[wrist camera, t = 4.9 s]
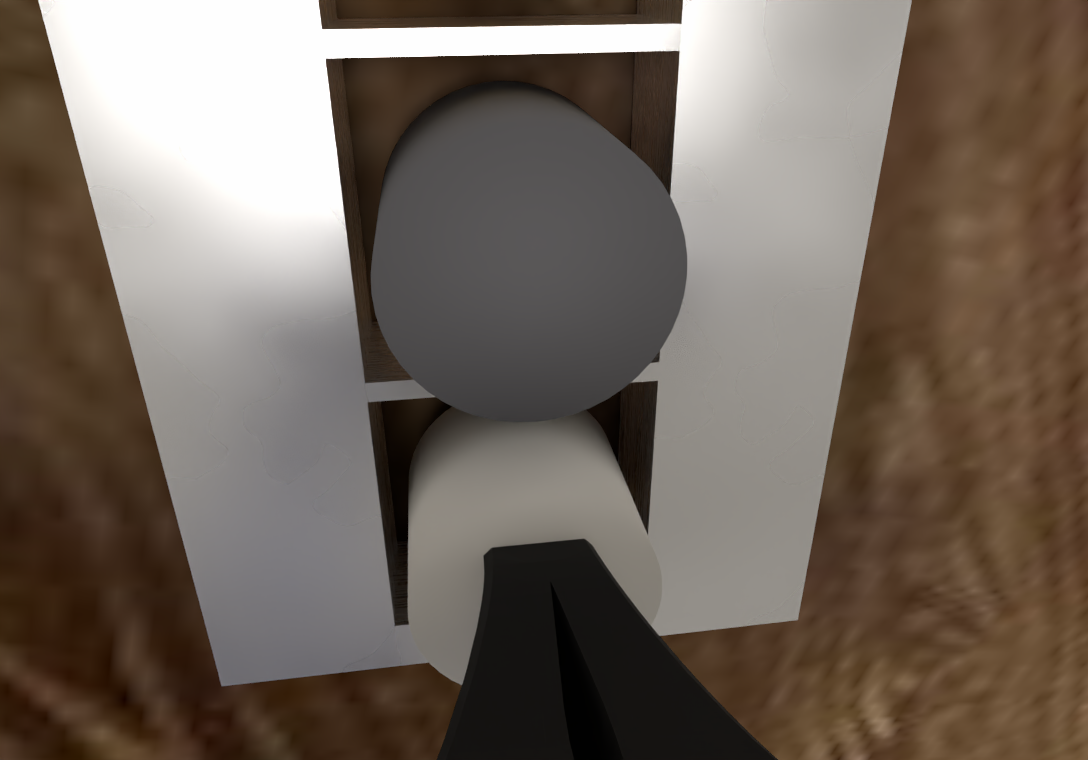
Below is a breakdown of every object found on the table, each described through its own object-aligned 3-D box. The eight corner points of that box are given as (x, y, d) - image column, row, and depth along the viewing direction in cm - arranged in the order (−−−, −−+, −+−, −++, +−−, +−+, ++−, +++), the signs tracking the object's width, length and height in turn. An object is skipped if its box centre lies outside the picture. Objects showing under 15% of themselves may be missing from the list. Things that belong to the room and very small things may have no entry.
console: (752, 542, 16) (797, 619, 14) (246, 594, 15) (221, 686, 13) (893, -460, 10) (1016, -570, 8) (-11, -518, 8) (-141, -666, 6)
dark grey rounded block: (618, 314, 12) (676, 411, 10) (392, 328, 12) (386, 433, 9) (629, 76, 11) (700, 113, 8) (368, 83, 10) (352, 125, 8)
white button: (610, 548, 14) (655, 681, 12) (417, 568, 14) (417, 710, 11) (616, 378, 13) (670, 486, 10) (399, 395, 12) (395, 512, 10)
